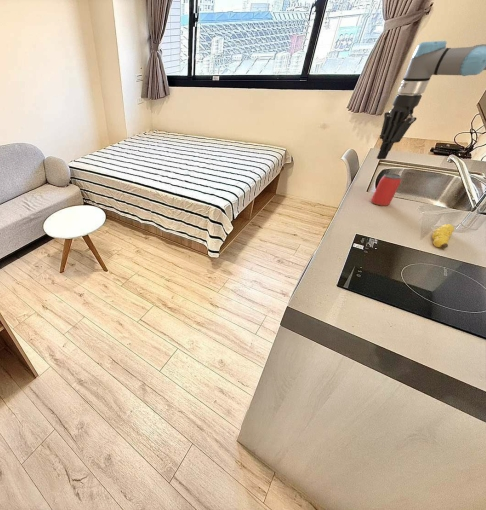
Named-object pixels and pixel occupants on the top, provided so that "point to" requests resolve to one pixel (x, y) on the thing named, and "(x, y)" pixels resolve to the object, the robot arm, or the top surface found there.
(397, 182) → the beer can
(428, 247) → the top surface
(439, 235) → the yellow lumpy toy
